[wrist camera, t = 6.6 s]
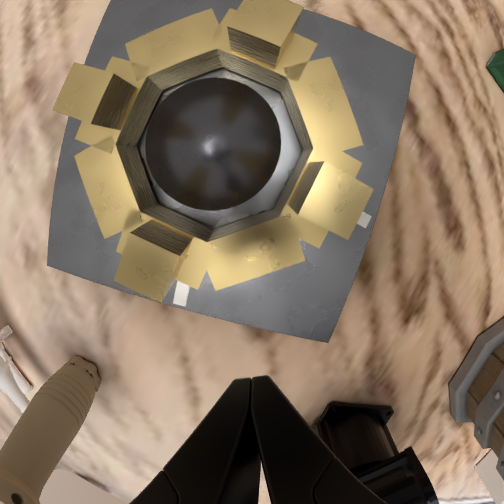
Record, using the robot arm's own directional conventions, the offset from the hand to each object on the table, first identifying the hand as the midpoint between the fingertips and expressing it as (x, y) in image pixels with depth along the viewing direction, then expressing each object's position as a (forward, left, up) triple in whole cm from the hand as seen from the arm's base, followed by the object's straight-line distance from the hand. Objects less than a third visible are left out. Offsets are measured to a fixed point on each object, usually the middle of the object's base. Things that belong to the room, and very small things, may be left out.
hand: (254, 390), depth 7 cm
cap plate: (+4, -6, -13) cm, 14 cm away
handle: (+11, +13, -13) cm, 21 cm away
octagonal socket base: (+4, -6, -11) cm, 13 cm away
